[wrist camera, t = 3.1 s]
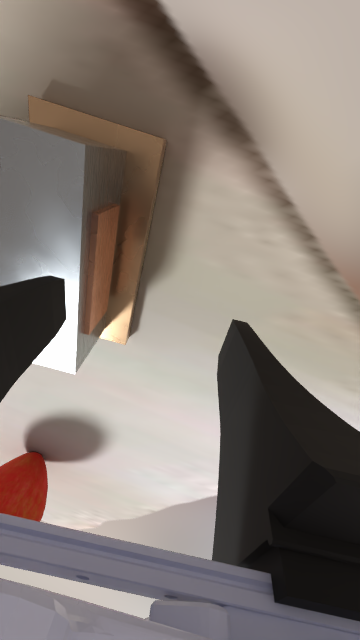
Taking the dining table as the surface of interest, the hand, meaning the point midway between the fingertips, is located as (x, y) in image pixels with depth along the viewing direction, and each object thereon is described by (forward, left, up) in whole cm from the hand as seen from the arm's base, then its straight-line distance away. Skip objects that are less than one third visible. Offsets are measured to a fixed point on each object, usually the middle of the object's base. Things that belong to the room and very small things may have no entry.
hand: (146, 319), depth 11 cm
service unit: (-4, +3, -8) cm, 9 cm away
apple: (-29, -17, -8) cm, 35 cm away
